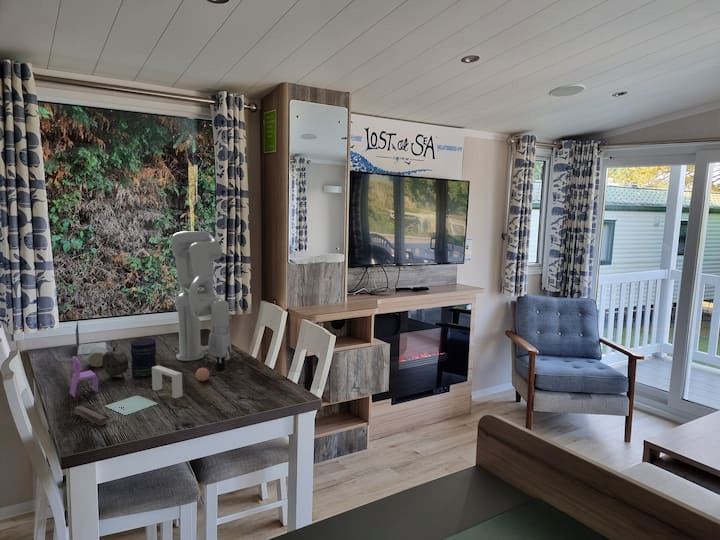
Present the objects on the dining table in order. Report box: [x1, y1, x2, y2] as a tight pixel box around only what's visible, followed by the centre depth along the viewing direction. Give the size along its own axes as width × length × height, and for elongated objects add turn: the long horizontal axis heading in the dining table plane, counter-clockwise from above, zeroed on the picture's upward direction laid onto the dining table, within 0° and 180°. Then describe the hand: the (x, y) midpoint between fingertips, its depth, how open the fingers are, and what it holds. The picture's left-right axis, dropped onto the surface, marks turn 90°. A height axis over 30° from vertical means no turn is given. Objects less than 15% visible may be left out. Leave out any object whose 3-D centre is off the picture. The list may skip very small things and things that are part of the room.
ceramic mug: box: [88, 347, 109, 368], centre depth 227 cm, size 11×8×8 cm
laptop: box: [75, 321, 107, 356], centre depth 249 cm, size 18×12×13 cm
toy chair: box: [68, 356, 99, 398], centre depth 194 cm, size 8×9×15 cm
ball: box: [195, 367, 210, 382], centre depth 210 cm, size 6×6×6 cm
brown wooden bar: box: [74, 405, 107, 426], centre depth 172 cm, size 2×16×2 cm, turn 56°
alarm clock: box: [102, 340, 129, 380], centre depth 210 cm, size 11×5×16 cm, turn 65°
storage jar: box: [130, 338, 158, 381], centre depth 214 cm, size 10×10×15 cm
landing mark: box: [104, 394, 159, 416], centre depth 184 cm, size 13×13×1 cm
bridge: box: [151, 364, 183, 399], centre depth 196 cm, size 3×14×9 cm, turn 56°
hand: (220, 370), depth 218 cm, fingers closed
